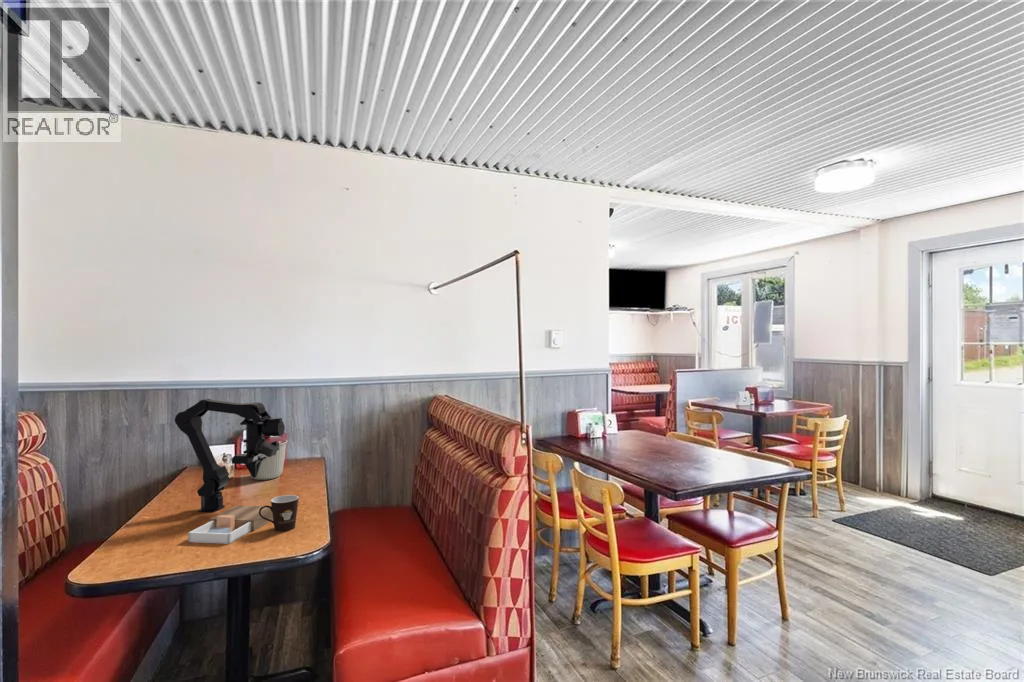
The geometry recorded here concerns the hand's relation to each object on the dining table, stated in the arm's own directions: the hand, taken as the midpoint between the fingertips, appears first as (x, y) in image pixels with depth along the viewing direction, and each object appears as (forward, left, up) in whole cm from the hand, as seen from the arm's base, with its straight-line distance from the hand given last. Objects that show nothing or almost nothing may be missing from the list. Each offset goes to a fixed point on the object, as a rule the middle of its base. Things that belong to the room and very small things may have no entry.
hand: (254, 477), depth 191 cm
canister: (-22, +43, -12) cm, 50 cm away
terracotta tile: (+5, -22, -9) cm, 24 cm away
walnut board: (+5, -14, -12) cm, 19 cm away
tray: (+5, -27, -12) cm, 30 cm away
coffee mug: (+21, -18, -12) cm, 30 cm away
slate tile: (+5, -28, -10) cm, 30 cm away
